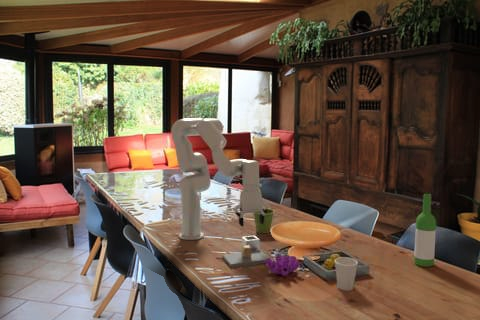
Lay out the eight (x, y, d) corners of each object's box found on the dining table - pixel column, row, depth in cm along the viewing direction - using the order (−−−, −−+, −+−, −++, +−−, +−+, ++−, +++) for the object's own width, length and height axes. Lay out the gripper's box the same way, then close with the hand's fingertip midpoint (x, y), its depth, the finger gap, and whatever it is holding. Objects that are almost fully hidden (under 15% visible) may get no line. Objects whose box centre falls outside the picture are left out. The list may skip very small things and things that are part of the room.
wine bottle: (434, 263, 182) (438, 193, 178) (432, 269, 175) (436, 197, 172) (415, 259, 186) (418, 191, 182) (412, 265, 179) (415, 195, 175)
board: (222, 258, 188) (222, 244, 187) (260, 253, 194) (260, 240, 193) (230, 267, 177) (230, 253, 176) (271, 262, 183) (271, 248, 182)
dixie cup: (329, 287, 158) (329, 261, 157) (341, 280, 164) (342, 255, 162) (349, 294, 152) (350, 267, 151) (361, 287, 158) (362, 261, 157)
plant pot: (250, 234, 223) (250, 213, 222) (254, 227, 235) (254, 207, 233) (272, 235, 220) (272, 214, 219) (276, 229, 232) (276, 208, 230)
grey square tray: (302, 263, 182) (302, 255, 181) (342, 258, 188) (342, 250, 188) (326, 280, 164) (326, 272, 163) (369, 274, 170) (369, 265, 169)
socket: (241, 249, 200) (241, 236, 199) (254, 247, 202) (254, 235, 201) (246, 253, 194) (246, 240, 193) (259, 252, 196) (259, 239, 195)
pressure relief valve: (320, 268, 175) (333, 262, 182) (345, 281, 167) (358, 274, 174) (322, 256, 174) (335, 250, 181) (348, 268, 166) (361, 262, 173)
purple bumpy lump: (267, 285, 168) (256, 262, 171) (292, 274, 178) (282, 253, 181) (284, 275, 160) (273, 251, 164) (309, 264, 170) (298, 242, 174)
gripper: (265, 185, 200) (266, 220, 202) (230, 187, 195) (231, 224, 196) (271, 187, 193) (272, 224, 195) (235, 190, 188) (236, 228, 189)
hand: (251, 224), depth 196 cm, fingers open, 9 cm apart
